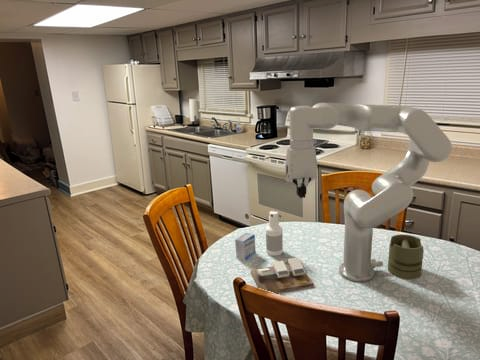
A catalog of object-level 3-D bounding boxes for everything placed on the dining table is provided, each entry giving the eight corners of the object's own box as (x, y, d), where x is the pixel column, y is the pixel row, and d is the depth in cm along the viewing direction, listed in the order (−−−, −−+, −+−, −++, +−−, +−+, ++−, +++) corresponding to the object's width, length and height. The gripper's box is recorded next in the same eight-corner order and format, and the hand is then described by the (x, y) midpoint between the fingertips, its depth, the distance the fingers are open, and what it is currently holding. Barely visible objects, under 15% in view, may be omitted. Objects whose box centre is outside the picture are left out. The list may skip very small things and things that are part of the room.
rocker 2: (298, 259, 137) (298, 256, 136) (304, 274, 132) (305, 272, 131) (287, 260, 137) (288, 258, 136) (294, 276, 131) (294, 273, 130)
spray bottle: (263, 254, 152) (262, 214, 147) (270, 247, 158) (269, 208, 153) (279, 257, 149) (278, 216, 144) (285, 250, 155) (284, 210, 149)
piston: (391, 247, 128) (388, 233, 138) (389, 277, 132) (386, 261, 142) (427, 250, 125) (421, 235, 135) (423, 280, 129) (418, 264, 139)
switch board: (297, 265, 143) (297, 257, 142) (313, 286, 129) (313, 278, 128) (250, 272, 139) (250, 265, 138) (261, 295, 125) (261, 287, 124)
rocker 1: (267, 271, 135) (267, 267, 135) (272, 274, 128) (272, 270, 129) (257, 272, 135) (256, 269, 135) (261, 275, 128) (261, 272, 128)
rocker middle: (282, 263, 136) (282, 260, 136) (289, 276, 130) (289, 273, 130) (272, 264, 136) (272, 261, 135) (278, 278, 130) (278, 275, 129)
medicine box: (244, 261, 148) (243, 241, 145) (236, 258, 150) (234, 239, 148) (256, 253, 154) (255, 234, 151) (247, 250, 156) (246, 231, 154)
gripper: (317, 140, 126) (317, 190, 131) (276, 144, 123) (277, 195, 128) (327, 144, 119) (326, 197, 124) (283, 148, 116) (284, 203, 121)
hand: (301, 196), depth 126 cm, fingers closed
